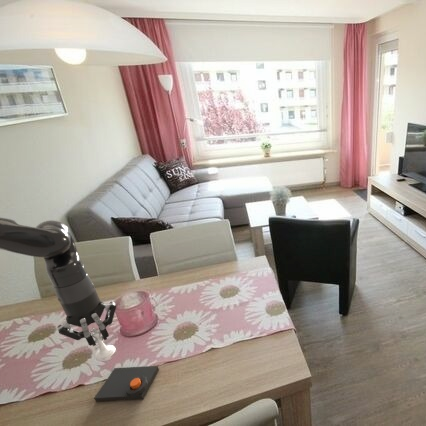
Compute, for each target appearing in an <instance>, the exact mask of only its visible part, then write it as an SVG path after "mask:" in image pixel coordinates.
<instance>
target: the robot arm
mask: <svg viewBox="0 0 426 426" xmlns="http://www.w3.org/2000/svg"><path fill="white" fill-rule="evenodd" d="M0 250H1V251H6V252H9V253H13V254H18V255H22V256H27V257H33V258H43V260H44V262H45V271H46V274H47V277H48V279H49V281H50V283H51V285H52V287H53V290H54V293H55V296H56V298H57V300H58V302H59V303H60V306H61V308H62V310H63V311H64V313H65V315H66V317H65V318H66V319H65V321H64V322H63V323H62V324H59V325H58V326H57V332H58V334H60V335H62V336H64V337H66V338H71V339H72V340H75V341H80V340H81V339H85V340H86V342H87V344H88V346H92V347H95V346H97V343H95V338H94V337H93V336H92V332H91V331H90V329H89V326H90V325H92V324H96V325H97V327H98V331H100V332H101V333H100V335H101V336H102V337H103V340H104V341H107V340H108V337H109V332H108V330H107V327H108V326H111V325H112V323H113V320H114V317H115V313H116V310H117V305H116V303H115V302H114V301H110V302H109V303H105V302H103V301H101V298H100V296H99V294H98V292H97V290H96V287H95V284H94V283H93V281H92V278H91V277H90V276H89V274H88V272H87V270H86V268H85V266H84V263H83V261H82V259H81V258H80V256H79V252H78V249H77V246H76V243H75V240H74V237H73V233H72V231H71V229H70V228H69V226H67V224H65V223H63V222H61V221H60V220H59V221H58V220H53V219H51V220H45V221H42V222H40V223H38V225H36V226H35V227H34V226H30V225H29V226H28V225H23V224H20V223H18V222H17V221H16V220H15V219H12V218H7V217H1V216H0ZM104 311H106V314H105V317H104V320H102V319H101V318H102V316H103V313H104ZM71 326H75V327H79V328H81V331H78V330H76V329H73V328H72V327H71ZM104 341H103V342H104Z"/></svg>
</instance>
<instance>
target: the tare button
mask: <svg viewBox="0 0 426 426" xmlns="http://www.w3.org/2000/svg"><path fill="white" fill-rule="evenodd" d="M140 385H141V381H140V379H139V378H135V379H133V380H132V381H131V382H130V386H131V388H132V389H137V388H138V387H140Z"/></svg>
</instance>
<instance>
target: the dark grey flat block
mask: <svg viewBox="0 0 426 426" xmlns="http://www.w3.org/2000/svg"><path fill="white" fill-rule="evenodd" d="M159 371H160V368H159V365H149V366H148V365H147V366H127V367H114V368H113V369H112V371H111V372H110V375H108V377H107V379H106V380H105V381H104V382H103V384H102V385H101V387H100V389H99V390H98V392H96V394H95V395H94V401H95V403H108V402H123V401H125V402H127V401H144V399H145V397H146V395H147V393H148V392H149V390H150V388H151V386H152V385H153V382H154V380H155V378H156V377H157V375H158V372H159ZM135 378H139V379H140V381H141V385H140V387H138V388H137V389H132V388H131V386H130V382H131V381H132V380H133V379H135Z"/></svg>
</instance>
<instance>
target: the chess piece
mask: <svg viewBox="0 0 426 426" xmlns="http://www.w3.org/2000/svg"><path fill="white" fill-rule="evenodd" d="M90 333H91V335H92V337H93V339H94V341H95V343H96V344H98V348H99V349H98V350H97V351H96V353H95V354H94V358H95V360H96V361H99V362H100V361H101V362H102V361H105V360H107V359H109V358H110V357H112V356H113V355H114V354H115V353H116V347H115V345H112V344H108V345H106V343H104V341H103V340H104V339H103V336H102V335H101V332H100V330H99V328H96V327H92V329H91V330H90Z"/></svg>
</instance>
